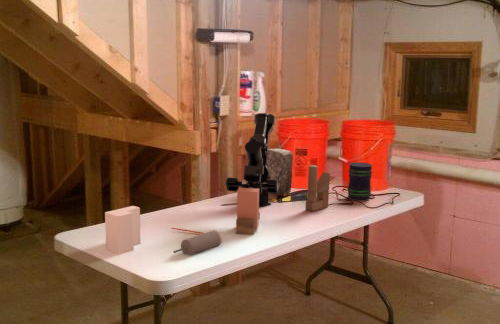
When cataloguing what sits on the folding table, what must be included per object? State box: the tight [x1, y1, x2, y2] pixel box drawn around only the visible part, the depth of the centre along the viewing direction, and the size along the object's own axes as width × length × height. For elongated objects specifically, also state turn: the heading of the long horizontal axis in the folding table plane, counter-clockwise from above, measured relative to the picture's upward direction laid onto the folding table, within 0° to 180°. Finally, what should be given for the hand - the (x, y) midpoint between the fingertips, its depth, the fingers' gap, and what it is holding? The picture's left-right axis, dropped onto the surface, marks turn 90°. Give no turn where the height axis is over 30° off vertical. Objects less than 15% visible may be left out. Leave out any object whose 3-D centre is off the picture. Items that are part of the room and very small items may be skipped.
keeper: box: [236, 187, 260, 231], centre depth 190 cm, size 5×7×14 cm
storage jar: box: [347, 161, 373, 202], centre depth 236 cm, size 10×10×15 cm
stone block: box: [267, 148, 294, 196], centre depth 241 cm, size 13×7×20 cm, turn 40°
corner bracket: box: [104, 205, 141, 255], centre depth 170 cm, size 11×11×12 cm
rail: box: [235, 211, 261, 236], centre depth 193 cm, size 20×6×5 cm, turn 171°
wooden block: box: [305, 165, 331, 212], centre depth 217 cm, size 4×11×18 cm, turn 135°
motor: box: [170, 227, 223, 256], centre depth 174 cm, size 23×22×5 cm
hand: (249, 205), depth 192 cm, fingers closed, pressing on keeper
